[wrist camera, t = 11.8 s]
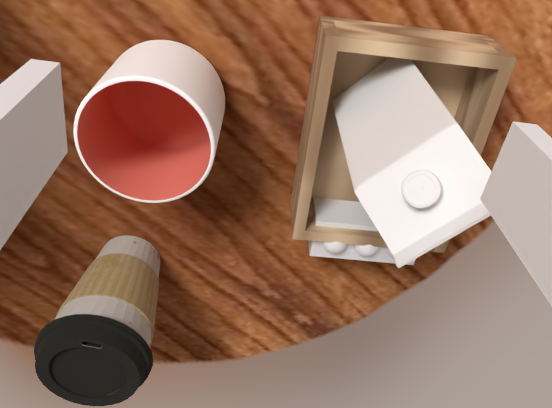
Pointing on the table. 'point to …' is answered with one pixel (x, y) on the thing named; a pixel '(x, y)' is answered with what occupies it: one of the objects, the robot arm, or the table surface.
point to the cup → (152, 122)
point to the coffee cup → (104, 327)
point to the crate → (356, 64)
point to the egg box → (350, 218)
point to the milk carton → (409, 160)
